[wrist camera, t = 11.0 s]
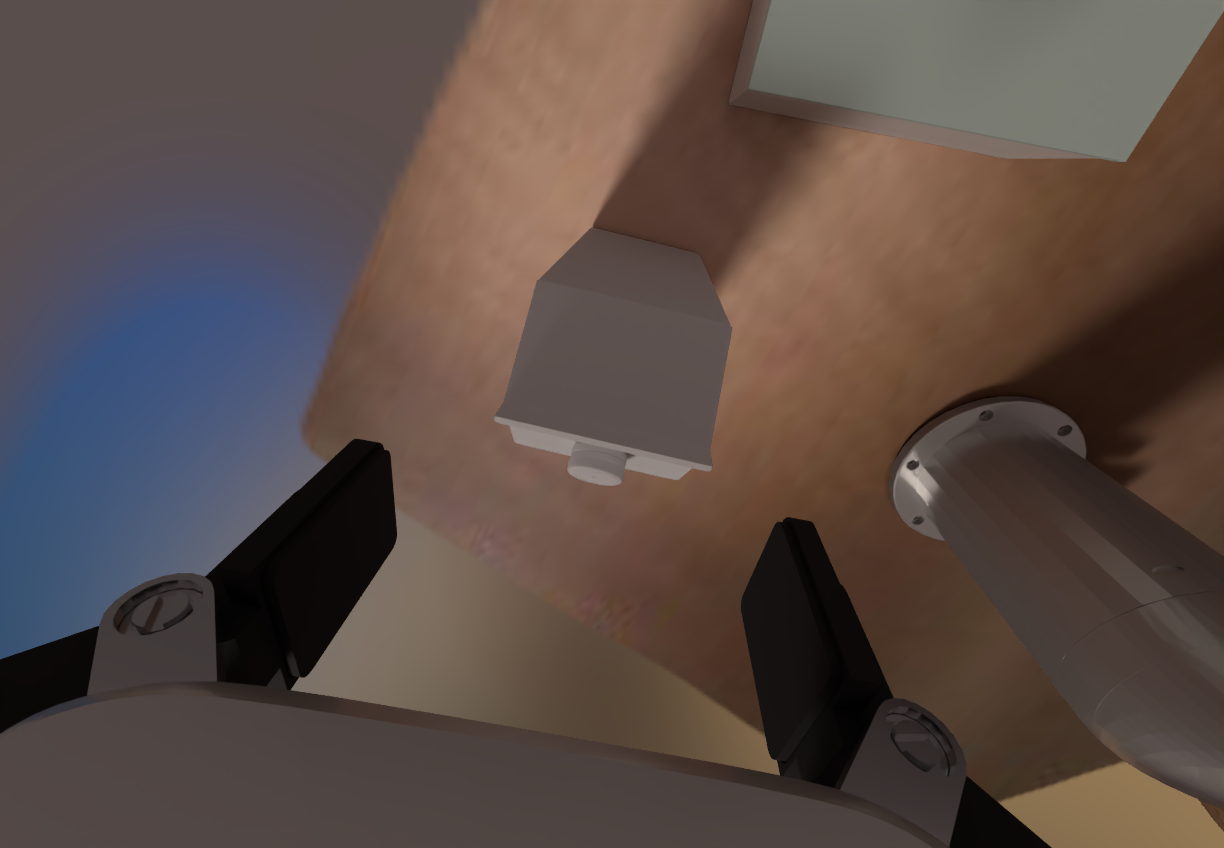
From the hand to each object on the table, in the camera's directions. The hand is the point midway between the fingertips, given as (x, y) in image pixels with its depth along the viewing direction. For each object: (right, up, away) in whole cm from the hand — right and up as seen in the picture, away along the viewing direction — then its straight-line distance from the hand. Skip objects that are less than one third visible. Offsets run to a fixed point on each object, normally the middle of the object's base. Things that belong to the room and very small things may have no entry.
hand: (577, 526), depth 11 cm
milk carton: (+2, +11, +20) cm, 23 cm away
